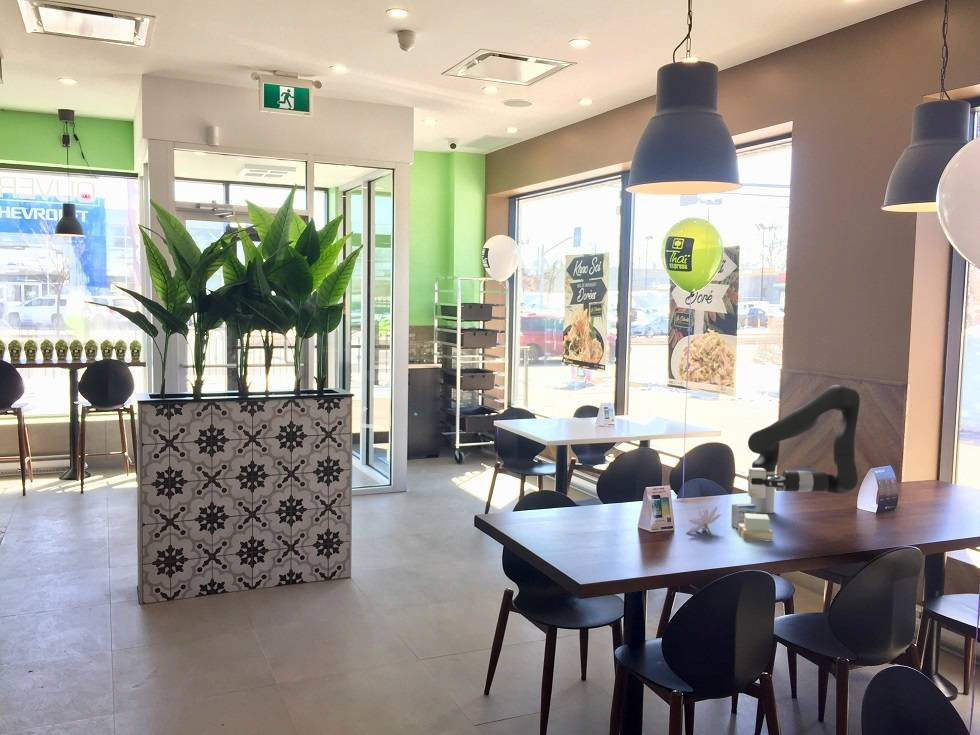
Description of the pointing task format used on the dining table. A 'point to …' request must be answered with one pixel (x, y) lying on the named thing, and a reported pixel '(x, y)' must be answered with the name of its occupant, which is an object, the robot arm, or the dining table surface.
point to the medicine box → (741, 513)
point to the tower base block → (754, 533)
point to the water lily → (706, 519)
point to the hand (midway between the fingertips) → (749, 479)
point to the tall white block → (756, 490)
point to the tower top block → (756, 521)
